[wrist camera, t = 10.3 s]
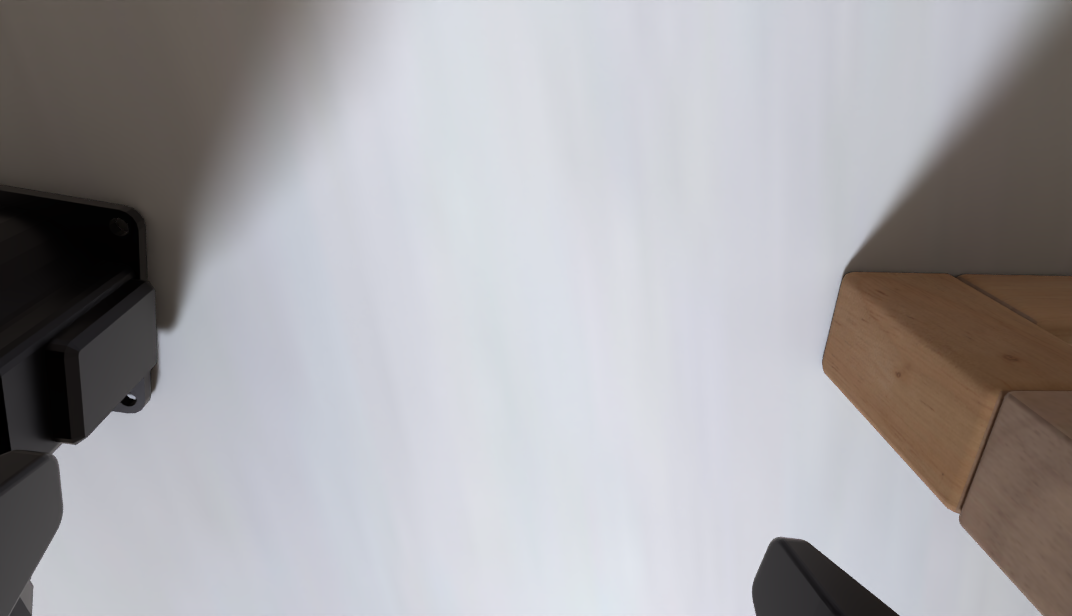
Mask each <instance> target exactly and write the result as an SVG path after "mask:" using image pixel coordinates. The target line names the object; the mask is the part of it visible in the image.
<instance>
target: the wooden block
mask: <svg viewBox="0 0 1072 616" xmlns="http://www.w3.org/2000/svg"><path fill="white" fill-rule="evenodd" d="M822 365H823V371H824V373H825V374H826V375H827V376H828V377H829V378H830V379H831V381H832V382H833V383H834V384H835V385H836V386H837V387H838V388H839V389H840V390H841V392H842V393H843V394H844V395H845V396H846V397H847V398H848V399H849V400H850V402H851V403H852V404H853V405H854V406H855V407H856V408H857V409H858V410H859V411H860V413H861V414H862V415H863V416H864V417H865V418H866V419H867V420H868V421H869V422H870V424H871V425H872V426H873V427H874V428H875V429H876V430H877V431H878V432H879V433H880V435H881V436H882V437H883V438H884V439H885V440H886V441H887V442H888V443H889V444H890V446H891V447H892V448H893V449H894V450H895V451H896V452H897V453H898V454H899V456H900V457H901V458H902V459H903V460H904V461H905V462H906V463H907V464H908V465H909V467H910V468H911V469H912V470H913V471H914V472H915V473H916V474H917V475H918V476H919V478H920V479H921V480H922V481H923V482H924V483H925V484H926V485H927V486H928V487H929V489H930V490H931V491H932V492H933V493H934V494H935V495H936V496H937V497H938V498H939V500H940V501H941V502H942V503H943V504H944V505H945V506H946V507H947V508H948V509H950V510H952V511H954V512H956V513H959V514H960V515H959V522H960V524H961V526H962V527H963V528H964V529H965V530H966V531H967V532H968V533H969V534H970V536H971V537H972V538H973V539H974V540H975V541H976V542H977V543H978V544H979V546H980V547H981V548H982V549H983V550H984V551H985V552H986V553H987V554H988V555H989V557H990V558H991V559H992V560H993V561H994V562H995V563H996V564H997V565H998V567H999V568H1000V569H1001V570H1002V571H1003V572H1004V573H1005V574H1006V575H1007V576H1008V578H1009V579H1010V580H1011V581H1012V582H1013V583H1014V584H1015V585H1016V586H1017V588H1018V589H1019V590H1020V591H1021V592H1022V593H1023V594H1024V595H1025V596H1026V597H1027V599H1028V600H1029V601H1030V602H1031V603H1032V604H1033V605H1034V606H1035V607H1036V609H1037V610H1038V611H1039V612H1040V613H1041V614H1042V615H1043V616H1072V276H1037V275H982V274H963V275H959V276H958V277H957V278H955V277H953V276H951V275H949V274H942V273H888V272H851V273H848V274H846V275H845V276H844V278H843V279H842V283H841V287H840V291H839V295H838V299H837V303H836V307H835V311H834V315H833V319H832V323H831V327H830V332H829V336H828V340H827V344H826V348H825V352H824V356H823V360H822Z"/></svg>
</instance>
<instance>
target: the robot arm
mask: <svg viewBox="0 0 1072 616" xmlns="http://www.w3.org/2000/svg"><path fill="white" fill-rule="evenodd" d="M117 218H120V219H122V220H124V221H125V222H126V223H127V224H128V227H129V231H128V232H126V231H123V230H121V229H120V228H119V227H118V225H117V222H116V221H117ZM156 363H157V338H156V304H155V289H154V288H153V286H152V285H151V284H150V282H149V281H147V256H146V227H145V222H144V219H143V217H142V216H141V214H140V213H139V212H138V211H136V210H135V209H134V208H131V207H128V206H125V205H119V204H113V203H107V202H101V201H95V200H89V199H83V198H77V197H71V196H65V195H59V194H53V193H47V192H41V191H35V190H29V189H22V188H16V187H10V186H4V185H0V616H32V603H33V584H32V583H31V581H30V579H31V576H32V574H33V572H34V571H35V569H36V567H37V565H38V564H39V562H40V560H41V558H42V557H43V555H44V553H45V551H46V549H47V548H48V546H49V544H50V542H51V541H52V539H53V537H54V535H55V533H56V532H57V530H58V528H59V525H60V523H61V519H62V515H63V500H62V491H61V481H60V472H59V464H58V460H57V459H56V457H55V456H54V455H52V453H53V452H54V451H55V450H56V449H57V448H58V447H59V446H60V445H61V444H62V443H65V444H73V445H76V444H78V443H79V442H81V441H82V440H84V439H85V438H87V437H88V436H89V435H90V434H91V433H92V432H93V431H94V430H95V428H96V427H97V426H98V425H99V424H100V423H101V422H102V421H103V420H104V419H105V418H106V417H107V416H108V415H109V414H110V412H111V411H115V412H123V413H136V412H139V411H141V410H142V408H143V407H144V406H145V405H146V404H147V403H148V402H149V400H150V398H151V374H150V370H151V369H152V368H153V367H154V366H155V365H156ZM128 393H132V394H133V395H134V396H135V397H136V399H135V400H134V399H131V398H129V397H128V396H127V394H128ZM752 598H753V604H754V608H755V613H756V616H899V615H898V614H897V613H896V612H894V611H893V610H892V609H891V608H890V607H888V606H887V605H886V604H885V603H883V602H882V601H881V600H880V599H878V598H877V597H876V596H875V595H873V594H872V593H871V592H870V591H868V590H867V589H866V588H865V587H863V586H862V585H861V584H860V583H858V582H857V581H856V580H855V579H853V578H852V577H851V576H850V575H848V574H847V573H846V572H845V571H843V570H842V569H841V568H840V567H838V566H837V565H836V564H835V563H833V562H832V561H831V560H830V559H828V558H827V557H826V556H825V555H823V554H822V553H821V552H820V551H818V550H817V549H816V548H815V547H813V546H812V545H811V544H810V543H808V542H807V541H805V540H802V539H794V538H786V537H777V538H775V539H773V540H772V541H771V542H770V544H769V546H768V548H767V551H766V553H765V555H764V558H763V560H762V562H761V565H760V567H759V569H758V572H757V574H756V576H755V578H754V582H753V586H752Z"/></svg>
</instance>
